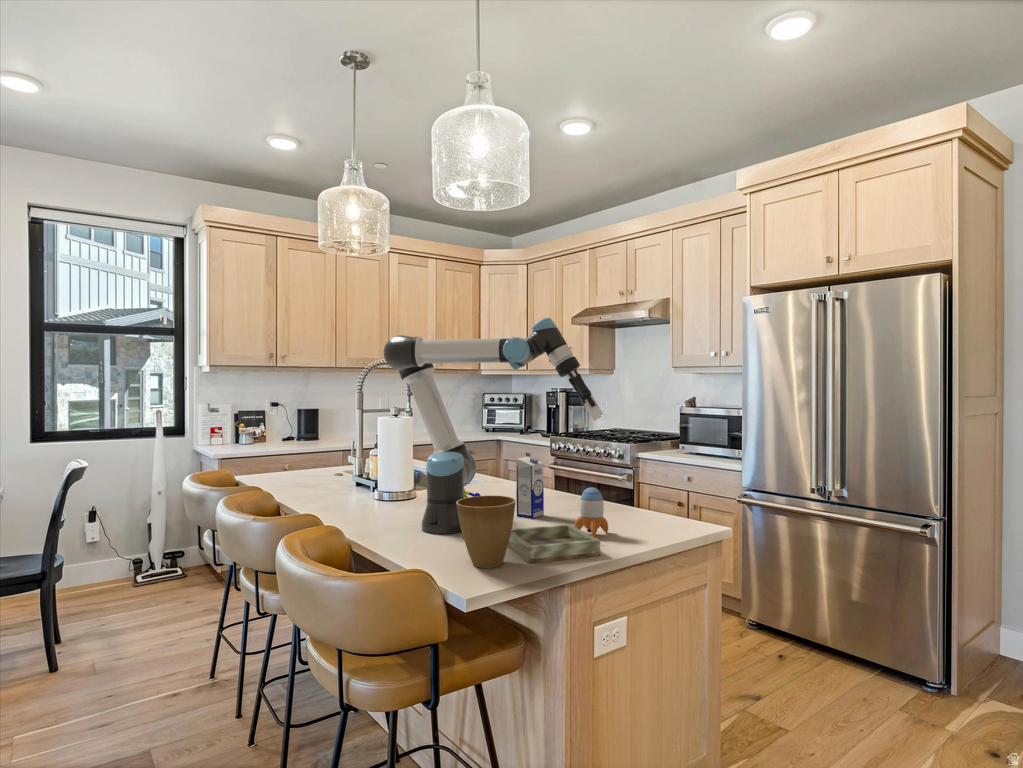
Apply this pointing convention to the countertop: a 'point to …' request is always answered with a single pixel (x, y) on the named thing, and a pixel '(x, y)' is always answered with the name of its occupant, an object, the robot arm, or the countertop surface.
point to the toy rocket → (592, 512)
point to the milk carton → (529, 488)
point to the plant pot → (486, 527)
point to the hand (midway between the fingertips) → (598, 417)
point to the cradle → (552, 543)
